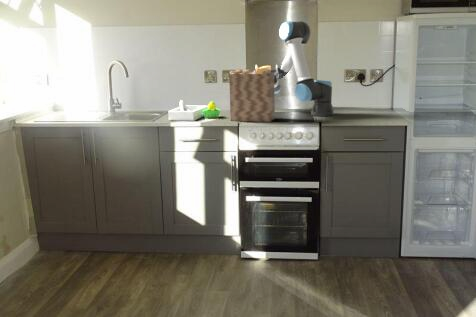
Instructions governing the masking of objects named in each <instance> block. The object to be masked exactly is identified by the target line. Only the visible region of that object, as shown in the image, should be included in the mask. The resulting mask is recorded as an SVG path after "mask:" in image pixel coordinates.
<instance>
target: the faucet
mask: <svg viewBox="0 0 476 317" xmlns="http://www.w3.org/2000/svg"><path fill="white" fill-rule="evenodd" d="M179 107H180V110H181V111H187V108H186V103H185V102H184V100H182V99H181V100H180V101H179ZM188 111H190V110H189V109H188Z"/></svg>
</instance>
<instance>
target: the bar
mask: <svg viewBox="0 0 476 317" xmlns="http://www.w3.org/2000/svg"><path fill="white" fill-rule="evenodd" d="M266 70H270V71H271V70H272V67H271V65H263V66H260V67H258V68H257V74H264V71H266Z"/></svg>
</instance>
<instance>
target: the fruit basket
mask: <svg viewBox="0 0 476 317" xmlns="http://www.w3.org/2000/svg"><path fill="white" fill-rule="evenodd" d="M202 111H203V115H204V116H203V117H204V119H214V118H215V119H217V118H218V119H219V116H220V112H221V110H220V109H219V108H217V105H216V103H215V101H210V102H209V103H208V105H207V109H206V110H202Z"/></svg>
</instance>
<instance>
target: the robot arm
mask: <svg viewBox="0 0 476 317" xmlns="http://www.w3.org/2000/svg"><path fill="white" fill-rule="evenodd" d="M278 34H279V38H280V39H281V40H283V41H284V43H285V45H286V46H288V51H287V53H286V55H285V57H284V59H283V60H282V63H281V64H282V65H280V66H281V68H280V67H279V65H278V64H276V65H275V69H271V71H270V72H274V91H275V95H277V94H279V93H280V92H281V89H282V86H281V84H280V82H279V80H278V79H281V78H283V76H285V75H286V74H287V73H288V72H289V71H290V72H291V69H292V67H294V70H295V74H296V79H297V81H296V85H295V87H294V95H295V96H296V98H297V100H299V101H300V102H311V101H313V105H312V108H311V111H310V114H311V116H315V117H331V116H334V115H335V111H334V108H333V104H332V98H333V94H332V93H333V85H332V81H330V80H322V79H321V80H319V79H314V78H313V77H312V76H311V73H310V69H309V65H308V63H307V59H306V55H305V52H304V48H303V47H304V46H305V45H306V44H307V43H308V42H309V40H310V37H311V27H310V26H309V24H308V23H307V22H305V21H303V20H302V21H285V22H283V23H281V25H280V28H279V31H278ZM257 68H259V67H258V64H255V68H254V70H253V72H255V71H257Z"/></svg>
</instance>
